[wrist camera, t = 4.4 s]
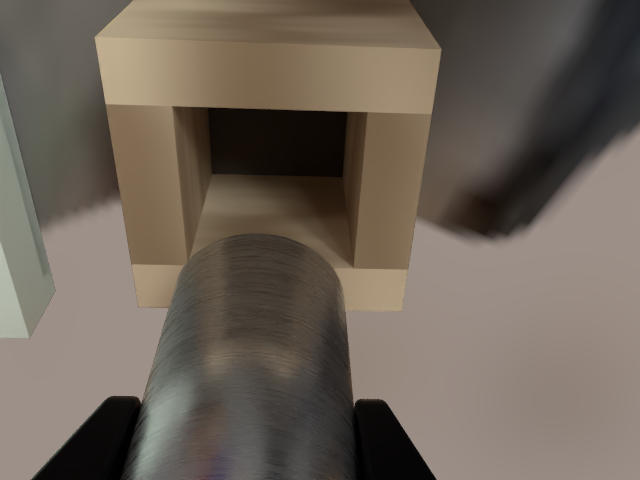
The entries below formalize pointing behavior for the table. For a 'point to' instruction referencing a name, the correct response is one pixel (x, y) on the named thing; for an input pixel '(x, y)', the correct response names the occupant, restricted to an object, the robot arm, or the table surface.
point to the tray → (19, 241)
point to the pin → (250, 370)
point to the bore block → (270, 93)
